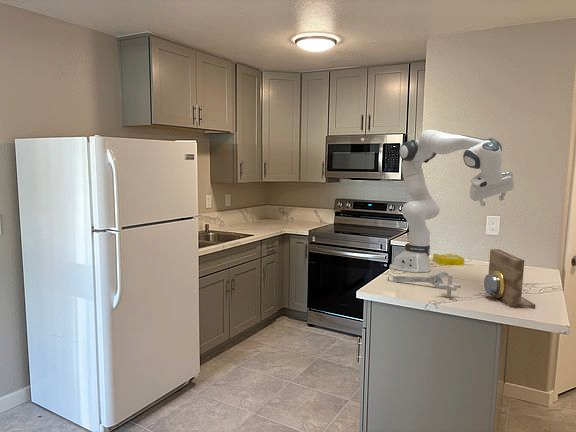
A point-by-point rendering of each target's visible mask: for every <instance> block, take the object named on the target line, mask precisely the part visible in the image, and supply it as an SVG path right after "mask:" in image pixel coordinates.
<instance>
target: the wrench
mask: <svg viewBox="0 0 576 432" xmlns="http://www.w3.org/2000/svg"><path fill="white" fill-rule="evenodd" d="M449 274H450V273H449V272H447V271H440V272H437V273H435V274H432V275H428V276H426V275H421V276H420V275H391V274H390V275H388V277H387V278H386V279H387V282H392V283H428V284H431V285H433V286H434V288H435V289H439V288H438V284H443V282H444V281H443V278H444V277H446V278H448V275H449ZM390 277H391V278H392V280H391V279H390Z"/></svg>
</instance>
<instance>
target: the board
mask: <svg viewBox="0 0 576 432" xmlns="http://www.w3.org/2000/svg"><path fill="white" fill-rule="evenodd" d="M524 269H525V259H523V258H519V257H518V256H516V255H513V254H510V253H508V252H505V251H504V250H502V249H499V248H498V249H496V248H495V249H491V248H490V250H489V263H488V274H487V275H492V274H493V272H494V271H501V272H502V273H503V275H504V278H505V293H504V295H503V297H502V298H497V299H498V300H499V301H501V302H502V303H504V305H506V306H508V307H510V308H512V309H514V308H517V309H536V304H535V303H533V302H532V301H530V300H528V299H526V298H525V297H523V296H522V294H523V293H522V291H523V281H524V271H525V270H524ZM490 294H491V295H492V296H493V297H494V295H493V293H490Z"/></svg>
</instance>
